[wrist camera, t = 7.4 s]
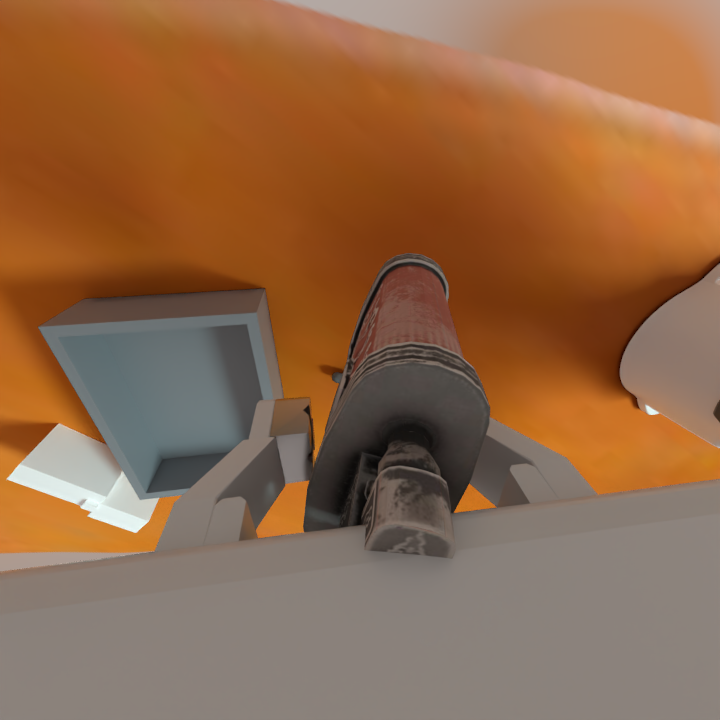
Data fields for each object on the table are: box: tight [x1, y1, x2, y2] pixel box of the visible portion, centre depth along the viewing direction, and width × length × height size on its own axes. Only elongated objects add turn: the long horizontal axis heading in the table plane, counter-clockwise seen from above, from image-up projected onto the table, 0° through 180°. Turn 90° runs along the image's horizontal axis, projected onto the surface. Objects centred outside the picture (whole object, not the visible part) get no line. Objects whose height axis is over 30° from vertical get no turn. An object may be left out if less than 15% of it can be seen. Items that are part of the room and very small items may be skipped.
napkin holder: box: [7, 423, 159, 533], centre depth 32 cm, size 15×11×6 cm
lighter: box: [303, 253, 490, 559], centre depth 10 cm, size 8×3×10 cm, turn 167°
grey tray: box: [38, 288, 284, 500], centre depth 28 cm, size 14×18×5 cm
